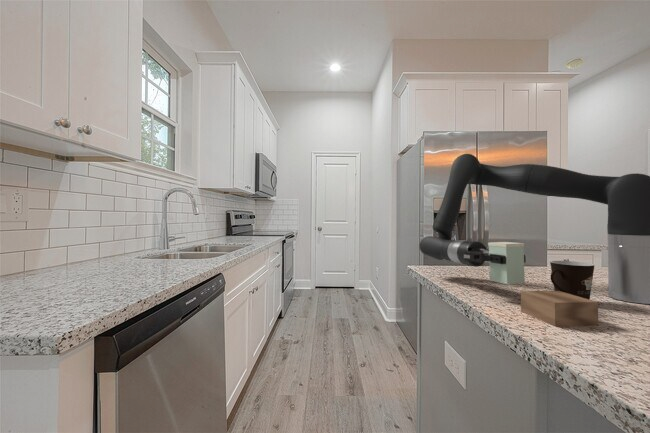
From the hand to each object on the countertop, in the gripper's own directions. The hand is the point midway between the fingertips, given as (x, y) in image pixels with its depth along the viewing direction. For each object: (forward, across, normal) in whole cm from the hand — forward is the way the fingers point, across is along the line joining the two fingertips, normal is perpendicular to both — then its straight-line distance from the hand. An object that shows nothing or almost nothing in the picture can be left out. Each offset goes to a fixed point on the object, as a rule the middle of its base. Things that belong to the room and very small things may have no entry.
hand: (514, 259), depth 70 cm
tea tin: (-3, 0, +6) cm, 7 cm away
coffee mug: (+1, +15, +12) cm, 19 cm away
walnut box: (+10, 0, +12) cm, 15 cm away
